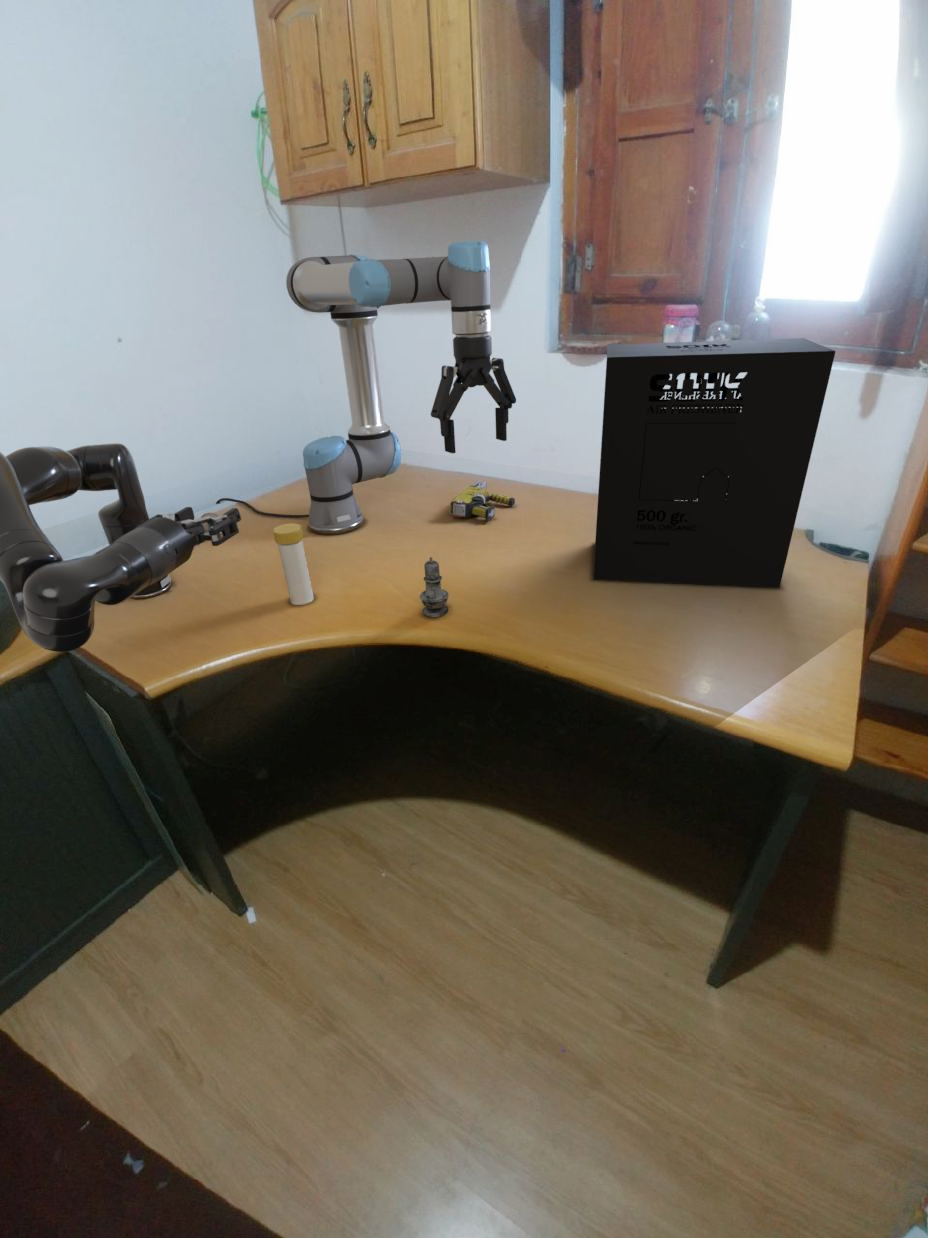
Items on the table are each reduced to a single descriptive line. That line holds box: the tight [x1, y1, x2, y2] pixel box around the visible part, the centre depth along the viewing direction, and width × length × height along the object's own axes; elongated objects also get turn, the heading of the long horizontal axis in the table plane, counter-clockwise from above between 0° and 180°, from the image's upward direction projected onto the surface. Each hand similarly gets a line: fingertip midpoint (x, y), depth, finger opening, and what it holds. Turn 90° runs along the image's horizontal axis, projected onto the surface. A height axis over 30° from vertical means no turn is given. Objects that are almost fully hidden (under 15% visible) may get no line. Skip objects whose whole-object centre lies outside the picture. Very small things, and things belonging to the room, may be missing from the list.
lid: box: [272, 523, 304, 545], centre depth 123 cm, size 6×6×2 cm
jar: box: [277, 539, 315, 606], centre depth 127 cm, size 5×5×16 cm
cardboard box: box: [592, 337, 836, 589], centre depth 125 cm, size 38×20×45 cm, turn 78°
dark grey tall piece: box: [419, 556, 450, 618], centre depth 120 cm, size 6×6×12 cm
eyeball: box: [200, 512, 220, 532], centre depth 167 cm, size 6×6×6 cm
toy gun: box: [449, 480, 516, 522], centre depth 174 cm, size 5×24×15 cm
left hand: (214, 513), depth 99 cm, fingers open, 8 cm apart
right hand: (476, 445), depth 127 cm, fingers open, 13 cm apart
